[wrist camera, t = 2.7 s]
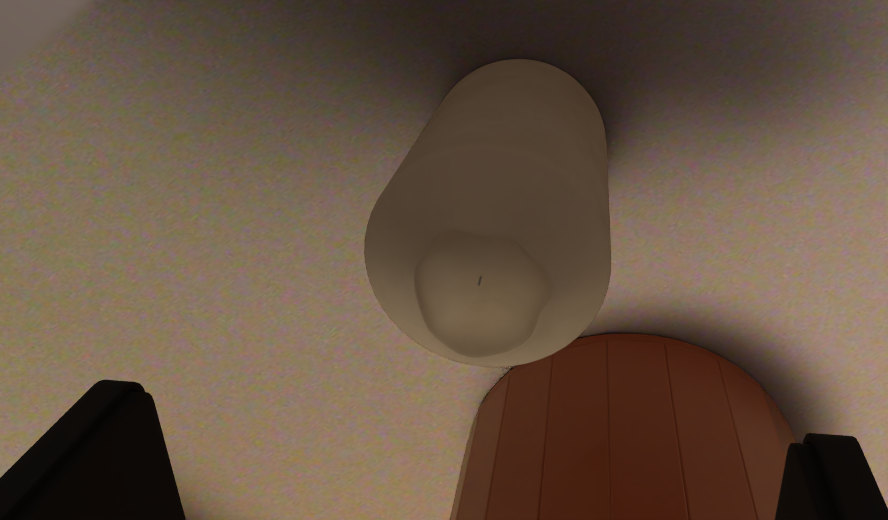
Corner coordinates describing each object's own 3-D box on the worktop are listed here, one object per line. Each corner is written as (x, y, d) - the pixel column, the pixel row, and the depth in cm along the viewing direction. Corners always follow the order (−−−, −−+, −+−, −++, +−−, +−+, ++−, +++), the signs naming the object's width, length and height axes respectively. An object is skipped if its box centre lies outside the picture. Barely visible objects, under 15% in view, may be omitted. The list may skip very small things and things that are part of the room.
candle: (414, 77, 24) (310, 198, 15) (589, 37, 23) (585, 144, 14) (457, 234, 26) (387, 417, 18) (619, 206, 25) (632, 391, 16)
